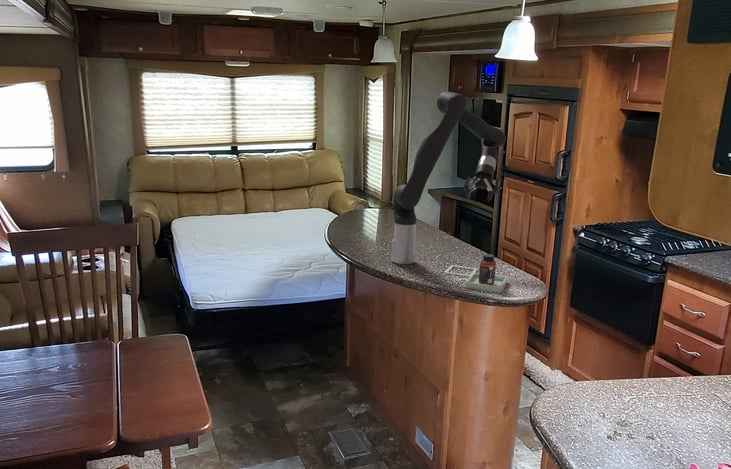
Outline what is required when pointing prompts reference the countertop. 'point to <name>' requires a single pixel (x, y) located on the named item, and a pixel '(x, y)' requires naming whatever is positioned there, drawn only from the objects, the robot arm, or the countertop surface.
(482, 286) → the tray
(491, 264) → the supplement bottle
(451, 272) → the mat frame
